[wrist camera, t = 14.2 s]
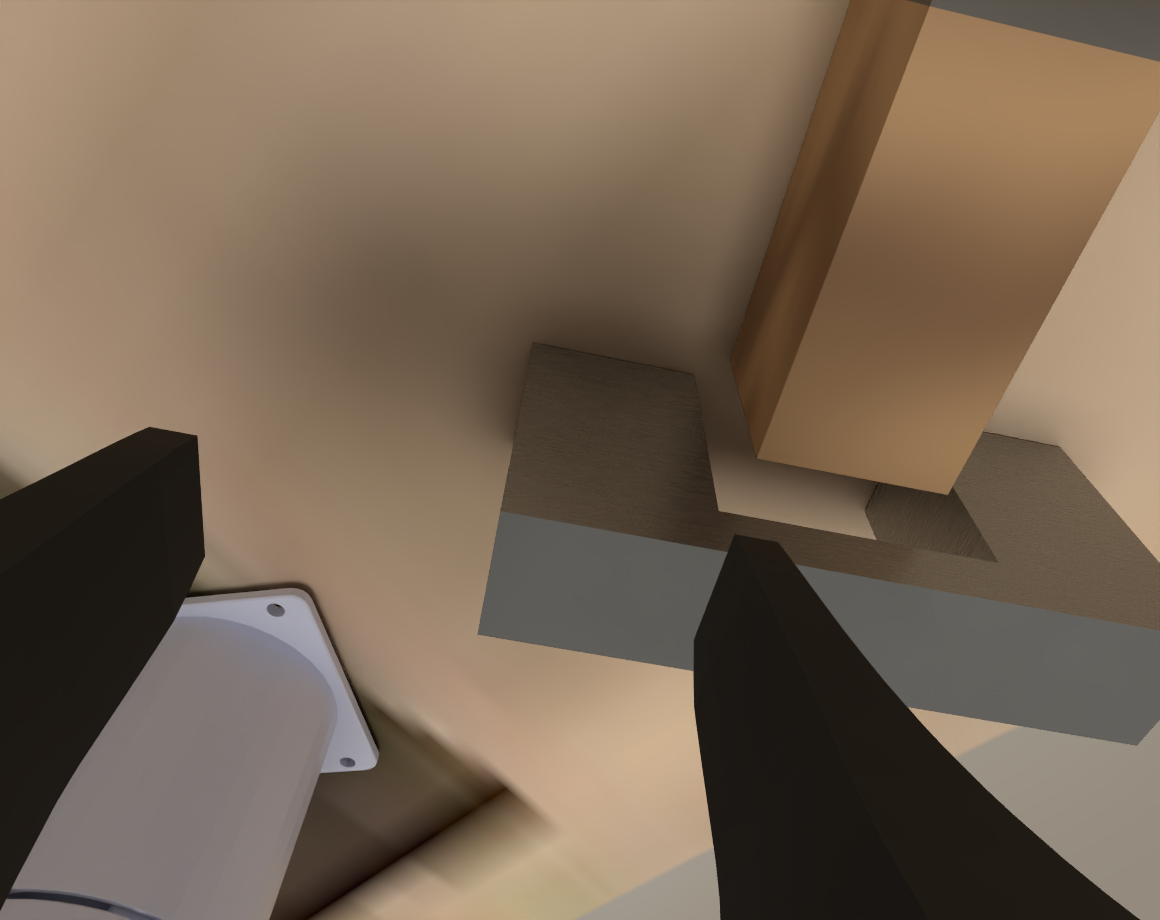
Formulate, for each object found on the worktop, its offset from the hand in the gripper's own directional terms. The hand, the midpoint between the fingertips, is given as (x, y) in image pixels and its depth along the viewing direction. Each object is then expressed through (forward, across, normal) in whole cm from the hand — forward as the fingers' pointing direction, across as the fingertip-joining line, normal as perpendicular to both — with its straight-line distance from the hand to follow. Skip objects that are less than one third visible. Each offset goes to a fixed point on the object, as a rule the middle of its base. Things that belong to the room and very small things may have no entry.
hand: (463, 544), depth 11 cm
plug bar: (+10, -7, -5) cm, 13 cm away
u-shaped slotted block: (+9, -7, +3) cm, 12 cm away
